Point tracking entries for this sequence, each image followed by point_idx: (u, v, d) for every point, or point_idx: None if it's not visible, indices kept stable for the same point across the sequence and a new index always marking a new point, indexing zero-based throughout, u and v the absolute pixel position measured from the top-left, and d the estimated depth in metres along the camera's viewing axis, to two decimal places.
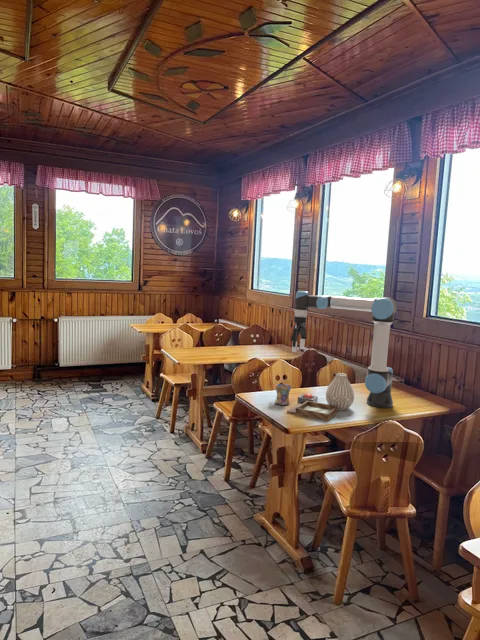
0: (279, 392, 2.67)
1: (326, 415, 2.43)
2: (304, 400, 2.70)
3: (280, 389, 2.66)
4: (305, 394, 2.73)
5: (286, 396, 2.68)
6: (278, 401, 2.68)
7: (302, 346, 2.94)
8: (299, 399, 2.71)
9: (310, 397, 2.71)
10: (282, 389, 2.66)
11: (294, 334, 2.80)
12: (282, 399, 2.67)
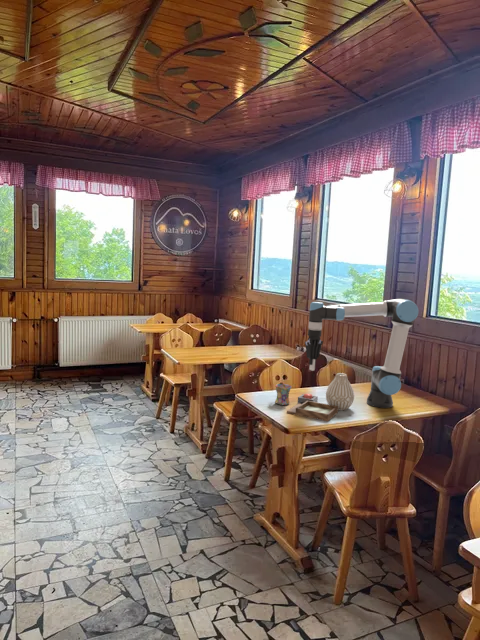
0: (279, 392, 2.67)
1: (326, 415, 2.43)
2: (304, 400, 2.70)
3: (280, 389, 2.66)
4: (305, 394, 2.73)
5: (286, 396, 2.68)
6: (278, 401, 2.68)
7: None
8: (299, 399, 2.71)
9: (310, 397, 2.71)
10: (282, 389, 2.66)
11: (308, 352, 2.63)
12: (282, 399, 2.67)
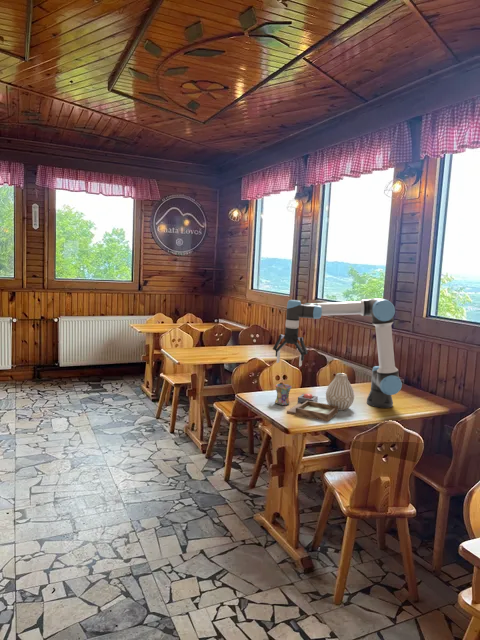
0: (279, 392, 2.67)
1: (326, 415, 2.43)
2: (304, 400, 2.70)
3: (280, 389, 2.66)
4: (305, 394, 2.73)
5: (286, 396, 2.68)
6: (278, 401, 2.68)
7: None
8: (299, 399, 2.71)
9: (310, 397, 2.71)
10: (282, 389, 2.66)
11: None
12: (282, 399, 2.67)
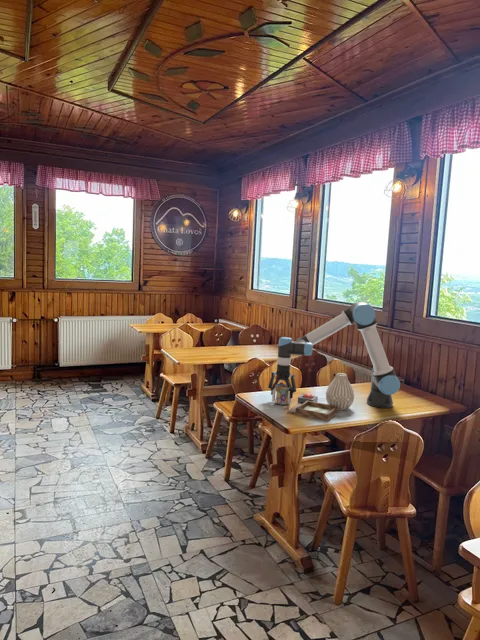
0: (278, 392, 2.68)
1: (326, 415, 2.43)
2: (304, 400, 2.70)
3: (279, 389, 2.66)
4: (305, 394, 2.73)
5: (285, 396, 2.68)
6: (277, 401, 2.68)
7: None
8: (299, 399, 2.71)
9: (310, 397, 2.71)
10: (281, 389, 2.66)
11: None
12: (281, 399, 2.67)
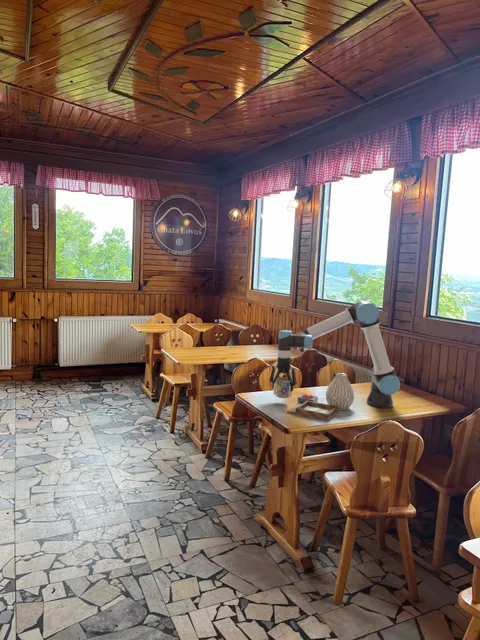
0: (279, 385, 2.67)
1: (326, 415, 2.43)
2: (304, 400, 2.70)
3: (280, 382, 2.66)
4: (305, 394, 2.73)
5: (286, 389, 2.67)
6: (278, 394, 2.68)
7: None
8: (299, 399, 2.71)
9: (310, 397, 2.71)
10: (282, 382, 2.66)
11: None
12: (282, 392, 2.67)
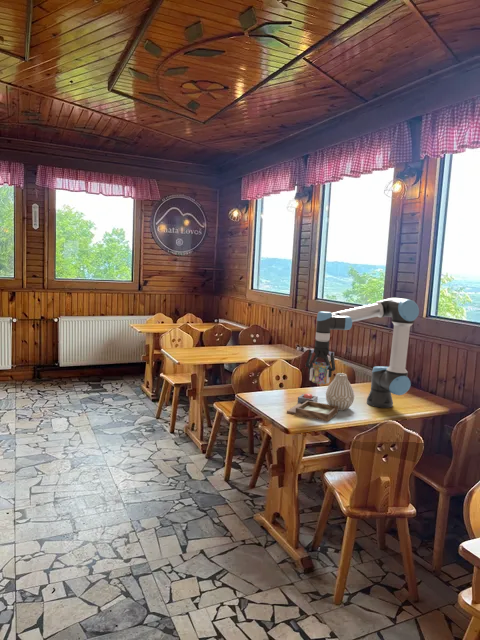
0: (316, 370, 2.49)
1: (326, 415, 2.43)
2: (304, 400, 2.70)
3: (318, 367, 2.48)
4: (305, 394, 2.73)
5: (324, 375, 2.49)
6: (315, 380, 2.50)
7: None
8: (299, 399, 2.71)
9: (310, 397, 2.71)
10: (320, 367, 2.47)
11: None
12: (319, 378, 2.49)
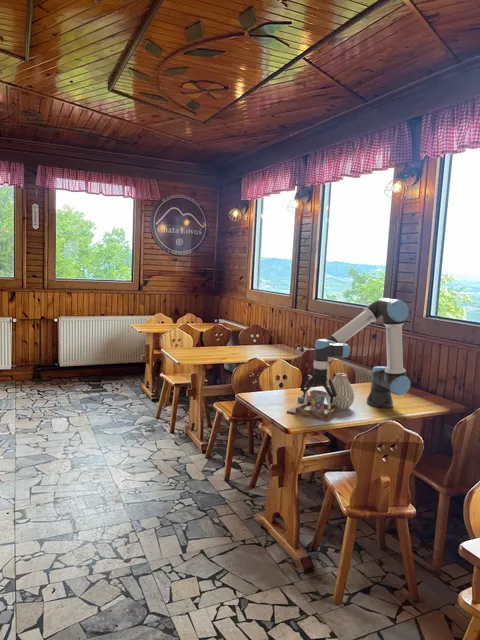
0: (313, 399, 2.52)
1: (326, 415, 2.43)
2: (304, 400, 2.70)
3: (314, 396, 2.50)
4: None
5: (321, 403, 2.51)
6: (312, 408, 2.52)
7: None
8: (299, 399, 2.71)
9: (310, 397, 2.71)
10: (316, 396, 2.50)
11: None
12: (316, 406, 2.51)
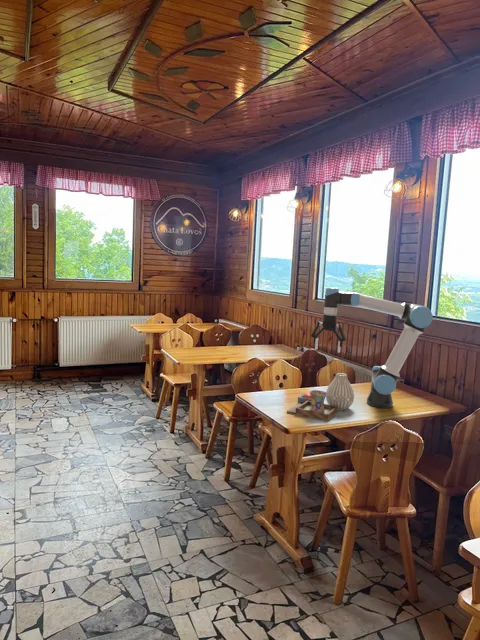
0: (313, 399, 2.52)
1: (326, 415, 2.43)
2: (304, 400, 2.70)
3: (314, 396, 2.50)
4: (305, 394, 2.73)
5: (321, 403, 2.51)
6: (312, 408, 2.52)
7: None
8: (299, 399, 2.71)
9: (310, 397, 2.71)
10: (316, 396, 2.50)
11: None
12: (316, 406, 2.51)
